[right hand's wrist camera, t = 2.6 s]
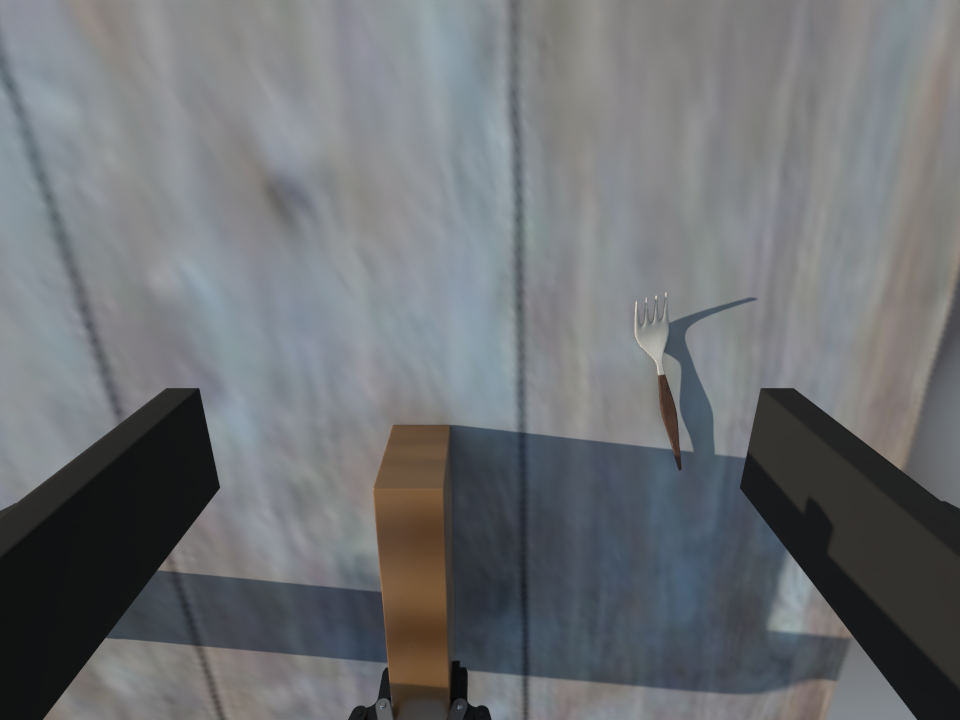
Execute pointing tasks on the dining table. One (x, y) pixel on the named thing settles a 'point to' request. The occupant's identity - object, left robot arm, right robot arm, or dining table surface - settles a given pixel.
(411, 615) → the bar
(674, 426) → the fork
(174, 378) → the dining table surface
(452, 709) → the left robot arm
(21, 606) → the right robot arm
